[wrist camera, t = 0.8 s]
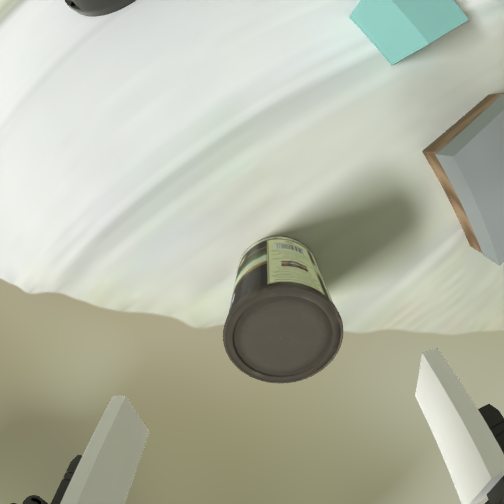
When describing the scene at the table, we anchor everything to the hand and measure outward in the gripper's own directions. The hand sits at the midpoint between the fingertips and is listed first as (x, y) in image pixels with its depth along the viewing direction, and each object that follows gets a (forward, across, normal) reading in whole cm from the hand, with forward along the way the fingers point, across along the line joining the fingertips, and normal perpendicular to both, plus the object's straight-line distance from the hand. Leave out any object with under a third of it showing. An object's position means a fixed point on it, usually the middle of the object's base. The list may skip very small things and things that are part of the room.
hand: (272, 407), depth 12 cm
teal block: (+27, +21, +23) cm, 41 cm away
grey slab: (+23, +32, +3) cm, 40 cm away
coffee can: (+27, 0, -6) cm, 27 cm away
